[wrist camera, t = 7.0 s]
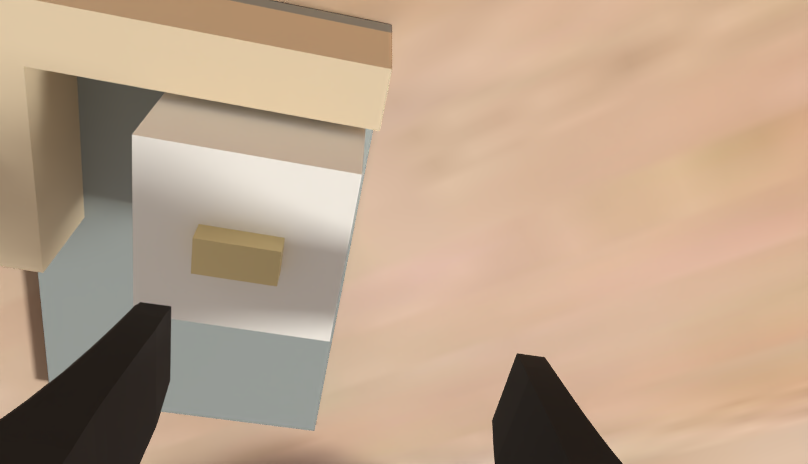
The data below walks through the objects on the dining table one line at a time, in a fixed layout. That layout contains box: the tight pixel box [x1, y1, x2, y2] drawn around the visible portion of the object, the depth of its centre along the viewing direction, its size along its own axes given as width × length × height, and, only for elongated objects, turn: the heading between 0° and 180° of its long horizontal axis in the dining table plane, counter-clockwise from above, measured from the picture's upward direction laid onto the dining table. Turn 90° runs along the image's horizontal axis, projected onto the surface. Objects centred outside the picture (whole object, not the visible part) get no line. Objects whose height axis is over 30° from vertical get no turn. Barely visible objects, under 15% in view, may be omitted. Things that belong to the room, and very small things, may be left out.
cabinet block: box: [132, 92, 366, 342], centre depth 18 cm, size 5×5×6 cm
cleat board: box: [0, 0, 392, 431], centre depth 21 cm, size 16×10×4 cm, turn 168°
